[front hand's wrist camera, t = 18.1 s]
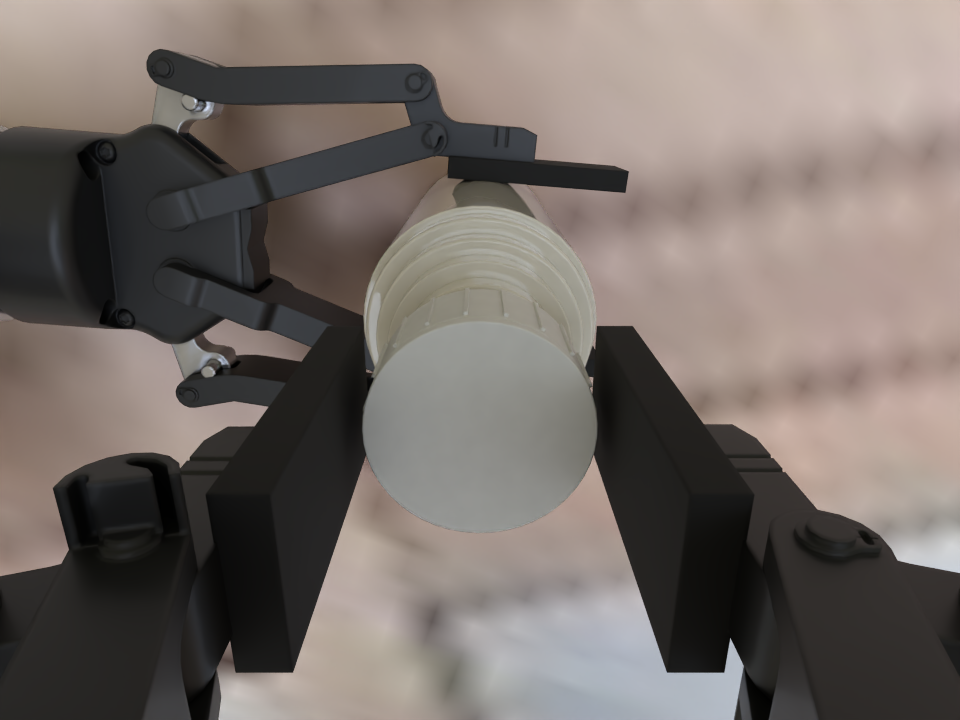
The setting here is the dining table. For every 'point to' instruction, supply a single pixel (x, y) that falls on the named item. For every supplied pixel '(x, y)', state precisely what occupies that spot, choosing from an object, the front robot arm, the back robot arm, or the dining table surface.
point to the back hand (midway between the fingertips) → (604, 272)
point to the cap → (479, 413)
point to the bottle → (479, 260)
